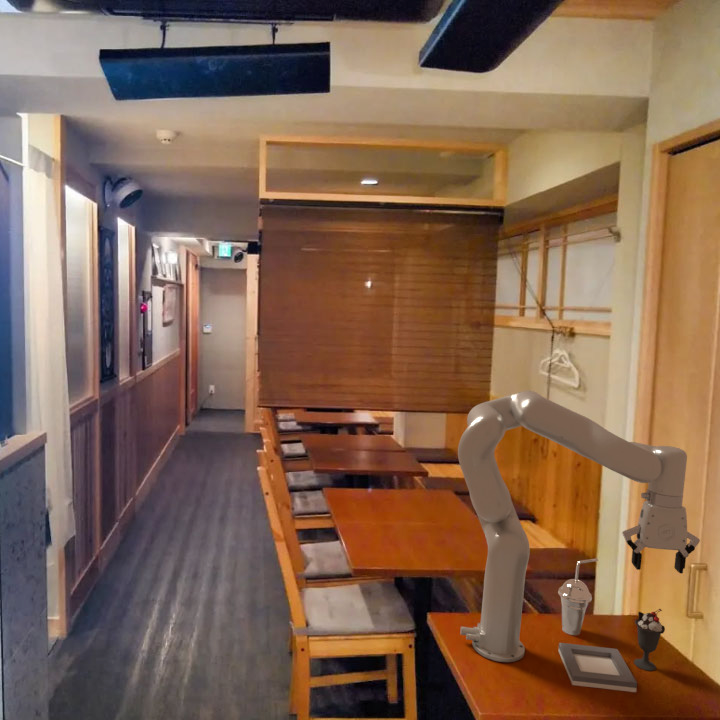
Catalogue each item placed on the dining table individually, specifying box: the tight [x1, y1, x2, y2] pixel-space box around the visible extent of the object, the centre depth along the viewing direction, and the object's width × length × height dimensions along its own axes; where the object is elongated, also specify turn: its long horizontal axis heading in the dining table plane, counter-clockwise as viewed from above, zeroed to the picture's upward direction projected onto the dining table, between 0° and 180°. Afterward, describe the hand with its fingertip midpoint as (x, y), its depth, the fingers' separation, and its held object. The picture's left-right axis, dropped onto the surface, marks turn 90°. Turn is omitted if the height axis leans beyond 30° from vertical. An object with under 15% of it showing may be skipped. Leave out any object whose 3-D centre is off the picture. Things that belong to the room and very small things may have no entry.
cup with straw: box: [557, 558, 599, 636], centre depth 166 cm, size 8×9×20 cm
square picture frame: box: [557, 642, 638, 693], centre depth 149 cm, size 14×14×2 cm
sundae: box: [633, 608, 666, 672], centre depth 152 cm, size 7×7×15 cm
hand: (657, 569), depth 151 cm, fingers open, 9 cm apart
